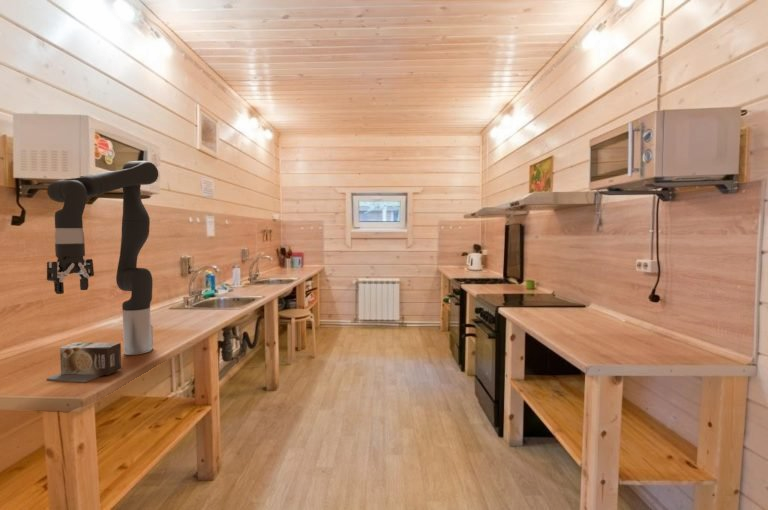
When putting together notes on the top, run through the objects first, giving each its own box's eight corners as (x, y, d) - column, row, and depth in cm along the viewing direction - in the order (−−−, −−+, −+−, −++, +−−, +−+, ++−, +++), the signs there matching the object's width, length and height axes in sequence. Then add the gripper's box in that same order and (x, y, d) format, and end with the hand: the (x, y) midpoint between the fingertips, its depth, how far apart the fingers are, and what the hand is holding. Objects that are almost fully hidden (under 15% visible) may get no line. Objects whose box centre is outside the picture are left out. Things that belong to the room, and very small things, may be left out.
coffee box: (58, 347, 127) (107, 347, 126) (74, 342, 133) (120, 341, 133) (60, 375, 127) (108, 375, 127) (76, 368, 134) (122, 368, 133)
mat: (86, 365, 138) (85, 363, 138) (121, 367, 136) (121, 365, 136) (46, 380, 124) (46, 378, 124) (85, 382, 122) (85, 380, 122)
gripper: (58, 243, 119) (61, 295, 120) (99, 241, 134) (101, 288, 135) (37, 243, 121) (40, 295, 122) (79, 241, 135) (82, 288, 136)
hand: (72, 291), depth 128 cm, fingers open, 8 cm apart
